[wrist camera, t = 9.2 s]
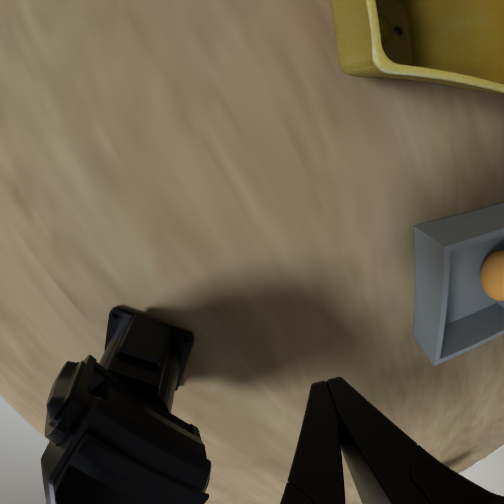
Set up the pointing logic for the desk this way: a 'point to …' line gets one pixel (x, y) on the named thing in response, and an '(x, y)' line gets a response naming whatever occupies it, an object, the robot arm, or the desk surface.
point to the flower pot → (423, 41)
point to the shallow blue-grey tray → (456, 283)
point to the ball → (493, 276)
